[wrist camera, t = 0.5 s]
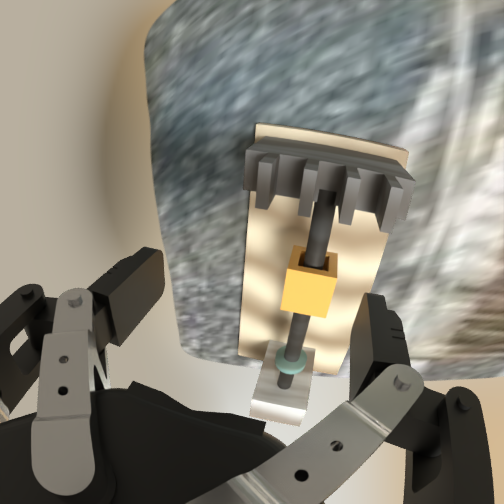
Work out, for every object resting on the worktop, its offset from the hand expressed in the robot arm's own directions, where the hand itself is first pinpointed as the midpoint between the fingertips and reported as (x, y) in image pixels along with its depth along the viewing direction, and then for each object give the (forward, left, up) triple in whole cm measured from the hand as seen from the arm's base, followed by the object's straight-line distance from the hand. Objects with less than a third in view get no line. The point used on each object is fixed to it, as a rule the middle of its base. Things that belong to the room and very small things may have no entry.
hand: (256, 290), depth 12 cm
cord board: (+11, +2, -20) cm, 23 cm away
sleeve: (+7, +2, -14) cm, 16 cm away
